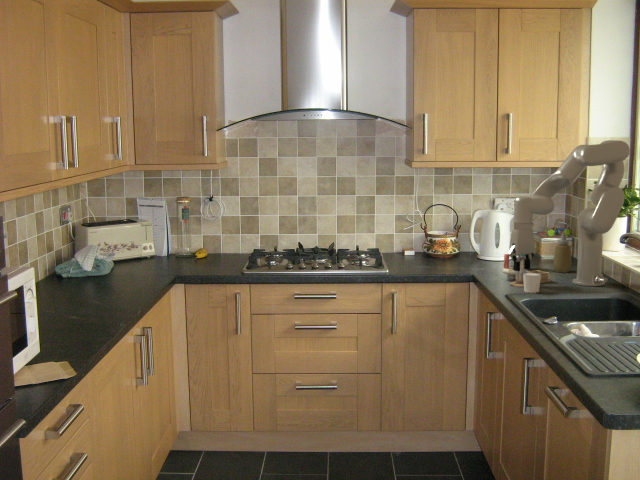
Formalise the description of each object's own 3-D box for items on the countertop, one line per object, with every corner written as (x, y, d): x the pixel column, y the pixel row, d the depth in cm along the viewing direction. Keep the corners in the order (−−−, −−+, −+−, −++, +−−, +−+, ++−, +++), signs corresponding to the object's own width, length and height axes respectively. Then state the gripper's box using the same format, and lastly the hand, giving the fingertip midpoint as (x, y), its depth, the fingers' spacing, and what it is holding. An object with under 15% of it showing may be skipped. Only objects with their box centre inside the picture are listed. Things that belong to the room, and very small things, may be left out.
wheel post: (521, 280, 308) (522, 273, 308) (513, 281, 306) (513, 274, 305) (513, 278, 312) (513, 271, 312) (504, 279, 310) (505, 273, 310)
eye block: (549, 281, 305) (549, 272, 304) (537, 283, 302) (537, 274, 301) (537, 279, 311) (537, 270, 310) (525, 280, 308) (525, 271, 307)
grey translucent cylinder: (524, 283, 298) (524, 257, 297) (515, 283, 299) (515, 257, 298) (524, 282, 301) (524, 256, 300) (515, 282, 302) (515, 256, 301)
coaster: (537, 285, 298) (537, 284, 297) (520, 288, 293) (520, 286, 293) (521, 281, 305) (521, 280, 305) (505, 284, 301) (505, 282, 301)
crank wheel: (519, 275, 302) (519, 257, 301) (499, 273, 308) (499, 255, 307) (527, 272, 309) (528, 254, 308) (508, 269, 315) (508, 252, 314)
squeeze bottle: (572, 273, 322) (574, 234, 319) (553, 273, 323) (555, 233, 321) (570, 270, 330) (571, 231, 327) (551, 269, 331) (553, 231, 329)
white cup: (531, 288, 292) (532, 271, 291) (544, 291, 286) (544, 274, 285) (518, 290, 289) (519, 273, 288) (531, 293, 283) (532, 276, 282)
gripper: (531, 224, 303) (530, 266, 306) (500, 227, 295) (499, 270, 298) (545, 226, 296) (543, 269, 299) (513, 229, 289) (512, 273, 291)
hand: (521, 269), depth 298 cm, fingers open, 5 cm apart
